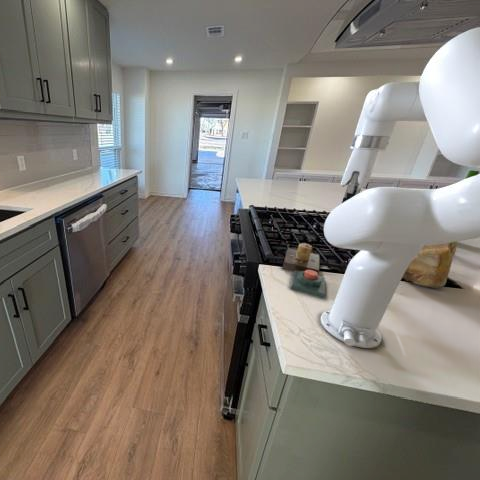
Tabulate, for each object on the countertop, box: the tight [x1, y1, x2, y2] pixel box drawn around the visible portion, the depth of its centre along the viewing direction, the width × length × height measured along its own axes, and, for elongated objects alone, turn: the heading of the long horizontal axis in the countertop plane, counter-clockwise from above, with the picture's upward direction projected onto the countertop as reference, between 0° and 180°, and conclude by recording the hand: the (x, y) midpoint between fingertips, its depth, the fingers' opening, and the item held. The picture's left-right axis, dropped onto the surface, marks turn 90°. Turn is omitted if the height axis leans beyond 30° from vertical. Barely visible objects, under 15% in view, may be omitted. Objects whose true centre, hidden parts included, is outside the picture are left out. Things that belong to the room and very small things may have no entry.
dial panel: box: [282, 247, 320, 274], centre depth 94 cm, size 14×11×3 cm
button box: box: [290, 270, 326, 299], centre depth 82 cm, size 11×9×4 cm
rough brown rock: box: [402, 241, 458, 289], centre depth 89 cm, size 23×17×15 cm
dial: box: [296, 242, 314, 261], centre depth 92 cm, size 4×4×5 cm
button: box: [304, 270, 319, 280], centre depth 81 cm, size 4×4×2 cm
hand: (346, 211), depth 73 cm, fingers closed
